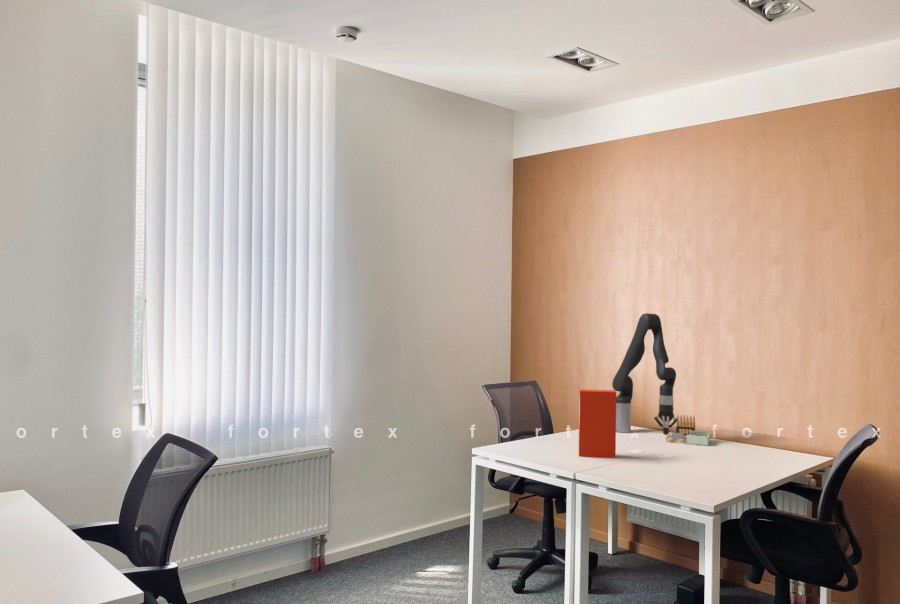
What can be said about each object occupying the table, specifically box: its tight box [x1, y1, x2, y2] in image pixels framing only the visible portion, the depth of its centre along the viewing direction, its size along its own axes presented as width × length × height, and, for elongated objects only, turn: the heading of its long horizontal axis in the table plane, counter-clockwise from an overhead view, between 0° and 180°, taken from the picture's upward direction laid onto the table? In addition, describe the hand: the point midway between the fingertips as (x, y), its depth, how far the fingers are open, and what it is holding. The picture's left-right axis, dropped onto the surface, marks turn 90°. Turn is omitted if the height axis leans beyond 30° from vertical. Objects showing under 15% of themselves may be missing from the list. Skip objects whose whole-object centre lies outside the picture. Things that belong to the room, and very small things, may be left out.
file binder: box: [578, 388, 617, 459], centre depth 326 cm, size 8×17×32 cm, turn 81°
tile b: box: [671, 432, 684, 439], centre depth 366 cm, size 6×5×2 cm
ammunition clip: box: [675, 414, 696, 436], centre depth 386 cm, size 11×2×12 cm, turn 67°
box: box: [686, 430, 711, 447], centre depth 364 cm, size 11×16×5 cm
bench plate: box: [665, 433, 688, 445], centre depth 369 cm, size 11×14×2 cm
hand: (665, 434), depth 368 cm, fingers closed
